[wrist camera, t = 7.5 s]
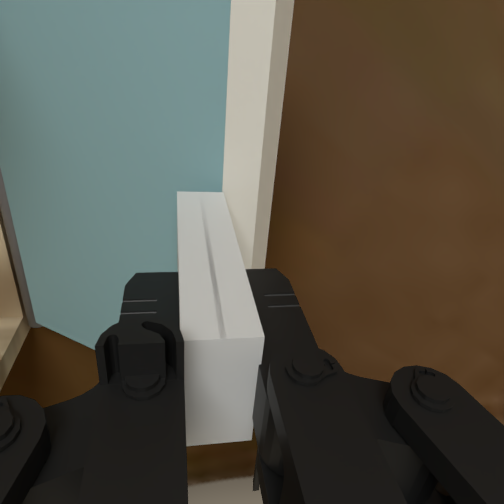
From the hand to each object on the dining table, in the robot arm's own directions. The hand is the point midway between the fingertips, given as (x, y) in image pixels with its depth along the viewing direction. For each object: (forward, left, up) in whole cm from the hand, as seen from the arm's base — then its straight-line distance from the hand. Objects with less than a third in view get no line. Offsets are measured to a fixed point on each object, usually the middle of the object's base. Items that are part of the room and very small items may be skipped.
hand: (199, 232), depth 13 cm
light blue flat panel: (0, -8, -7) cm, 11 cm away
